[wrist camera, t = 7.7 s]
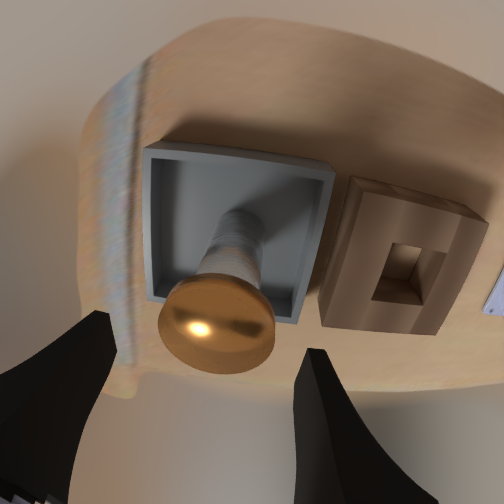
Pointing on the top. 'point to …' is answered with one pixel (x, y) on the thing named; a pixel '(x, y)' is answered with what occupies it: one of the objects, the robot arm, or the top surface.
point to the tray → (224, 200)
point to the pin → (223, 303)
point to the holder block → (376, 252)
